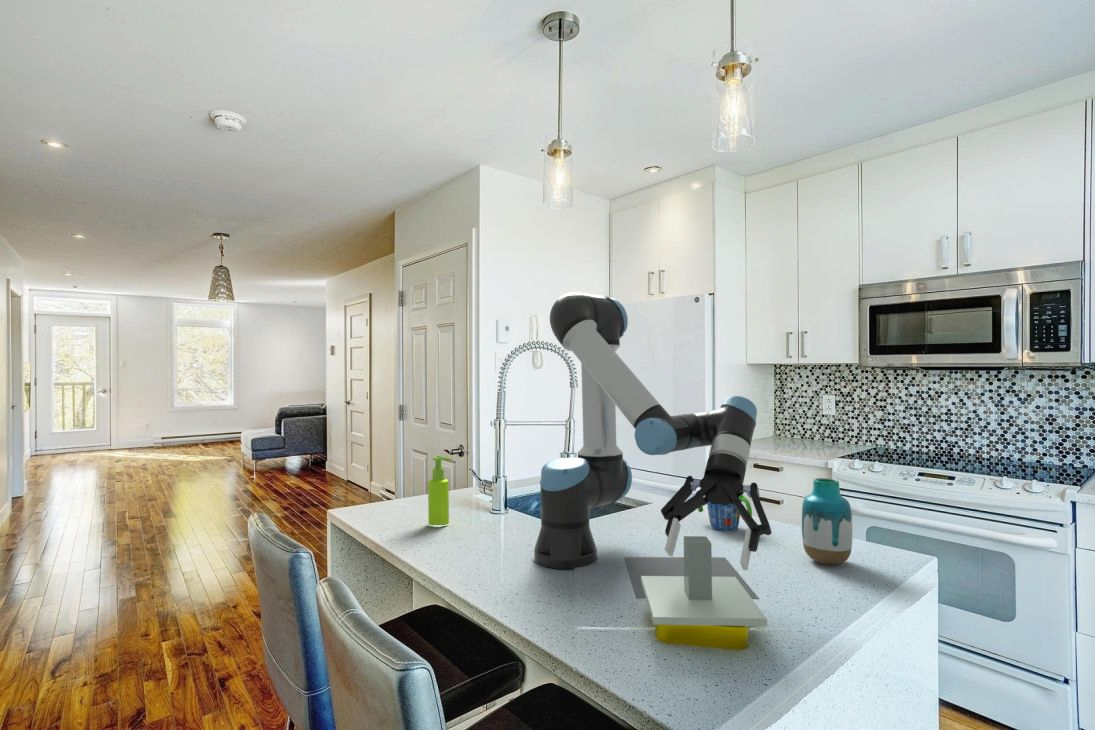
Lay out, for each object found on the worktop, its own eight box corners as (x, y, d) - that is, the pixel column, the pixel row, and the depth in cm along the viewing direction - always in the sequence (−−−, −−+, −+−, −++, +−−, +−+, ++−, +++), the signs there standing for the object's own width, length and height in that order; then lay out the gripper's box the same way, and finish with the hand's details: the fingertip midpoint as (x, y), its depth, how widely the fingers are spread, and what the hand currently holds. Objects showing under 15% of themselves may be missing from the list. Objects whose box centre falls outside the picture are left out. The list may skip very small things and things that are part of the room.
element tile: (740, 614, 105) (740, 589, 105) (749, 654, 90) (749, 624, 90) (658, 607, 108) (658, 582, 108) (654, 644, 93) (654, 616, 93)
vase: (851, 558, 133) (850, 477, 133) (854, 573, 123) (853, 486, 124) (802, 552, 138) (801, 474, 138) (801, 566, 128) (800, 482, 128)
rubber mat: (636, 600, 110) (636, 598, 110) (623, 558, 134) (623, 557, 134) (759, 600, 109) (759, 598, 109) (725, 559, 133) (725, 557, 133)
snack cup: (690, 525, 162) (689, 490, 162) (711, 519, 168) (711, 485, 169) (738, 538, 150) (738, 500, 150) (759, 530, 156) (759, 494, 156)
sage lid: (653, 624, 91) (652, 556, 91) (641, 582, 108) (640, 525, 109) (767, 626, 90) (766, 557, 90) (735, 583, 108) (734, 525, 108)
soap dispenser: (450, 527, 162) (449, 458, 162) (426, 527, 162) (426, 458, 162) (454, 522, 168) (453, 455, 168) (431, 522, 168) (430, 455, 168)
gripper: (796, 479, 108) (781, 583, 96) (672, 467, 122) (646, 557, 110) (790, 456, 104) (775, 561, 91) (663, 446, 118) (634, 537, 105)
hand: (704, 559), depth 100 cm, fingers open, 13 cm apart
